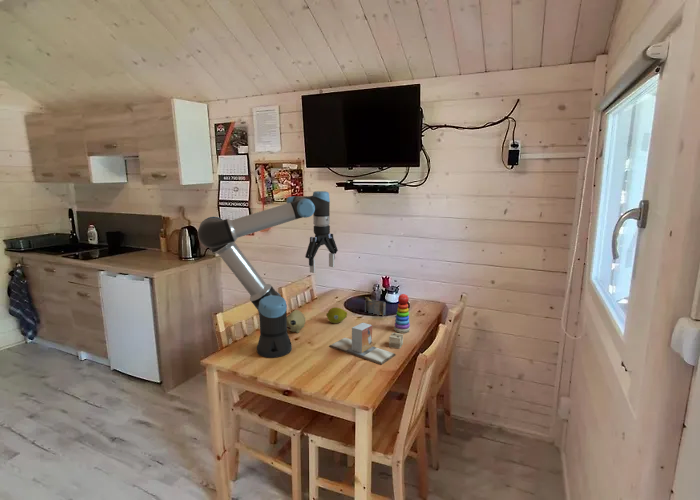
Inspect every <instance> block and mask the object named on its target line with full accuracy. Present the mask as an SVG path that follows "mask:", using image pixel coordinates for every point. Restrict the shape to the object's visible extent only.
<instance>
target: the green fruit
mask: <svg viewBox="0 0 700 500" xmlns="http://www.w3.org/2000/svg"><path fill="white" fill-rule="evenodd" d="M347 316H348V312H347V311H346V310H344V309H343V308H340V307H332V308H330V309H329V310H328V311H327V313H326V317H327V319H328V321H329V322H330V323H332V324H339V323H342V322H343V321H345V319H346V318H347Z"/></svg>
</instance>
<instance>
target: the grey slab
mask: <svg viewBox="0 0 700 500" xmlns="http://www.w3.org/2000/svg"><path fill="white" fill-rule="evenodd" d="M367 311H368V312H367ZM365 312H366V313H368V314H369V313H373V314H372V315H374V314H377V315H376V316H379V315H382V316H381V317H384V315H385V316H386V301H381V300H375V299H371V298H370V297H366V296H365V300H364V313H365Z"/></svg>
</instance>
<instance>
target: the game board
mask: <svg viewBox="0 0 700 500" xmlns="http://www.w3.org/2000/svg"><path fill="white" fill-rule="evenodd" d="M329 348H331V349H335V350H338V351H340V352H343V353H346V354H349V355H352V356H355V357H357V358H361V359H362V360H363V359H364V360H367V361H369V362H372V363H375V364H378V365H381V366H382V365H384V364H386V363H387V362H388V361H389V360H391V359H392V358H394V357H395V356H396V355H397V354H396V353H394V352H391V351H388V350H386V349H381V348H379V347H375V346H373V345H372V348H370V349H368V350H366V351H364V352H363V353H360V352H357V351H354V350H352V338H348V337H343V338H341V339H339V340H338V341H335V342H334V343H331V344H330V345H329Z"/></svg>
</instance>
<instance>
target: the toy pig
mask: <svg viewBox="0 0 700 500" xmlns="http://www.w3.org/2000/svg"><path fill="white" fill-rule="evenodd" d="M305 324H306V317H305V314H304V313H303V312H302V311H301V310H299V309H294V310H292V311H291V312H290V313H289V314H288V315H287V332H288V331H289V332H293V333H294V332H295V333H297V334H299V333H300V330H302V329H303V328H304V327H305Z"/></svg>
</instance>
